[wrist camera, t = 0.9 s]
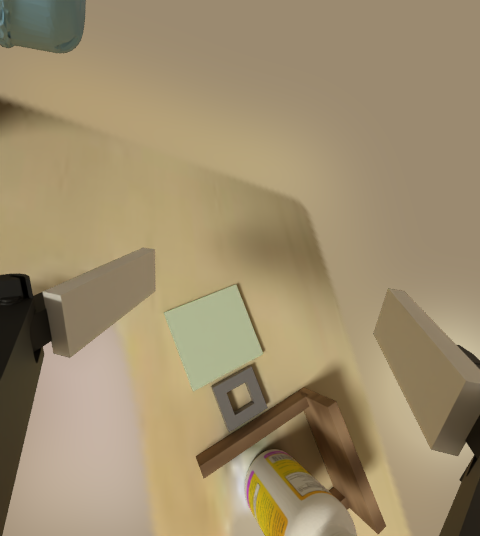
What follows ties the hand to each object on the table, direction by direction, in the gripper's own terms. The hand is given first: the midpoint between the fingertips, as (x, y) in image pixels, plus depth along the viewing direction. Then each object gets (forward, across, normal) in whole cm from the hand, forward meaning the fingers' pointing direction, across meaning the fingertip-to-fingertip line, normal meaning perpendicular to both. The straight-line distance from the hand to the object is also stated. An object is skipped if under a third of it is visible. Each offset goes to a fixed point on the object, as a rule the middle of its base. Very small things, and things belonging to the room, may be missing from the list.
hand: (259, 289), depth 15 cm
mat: (+12, -5, -12) cm, 17 cm away
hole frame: (+9, -2, -18) cm, 20 cm away
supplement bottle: (+7, +4, -26) cm, 27 cm away
